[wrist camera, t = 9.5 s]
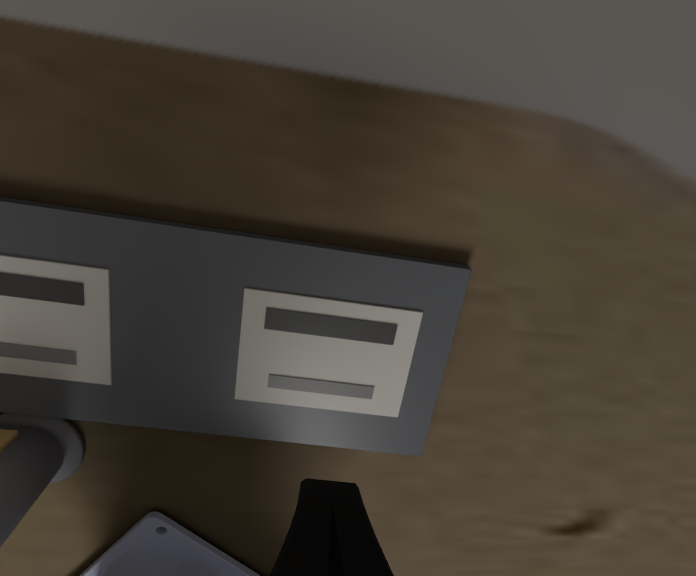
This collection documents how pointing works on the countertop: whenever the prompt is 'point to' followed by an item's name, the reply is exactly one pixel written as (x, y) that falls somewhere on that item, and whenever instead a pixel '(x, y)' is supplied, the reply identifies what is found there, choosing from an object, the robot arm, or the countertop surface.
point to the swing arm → (24, 472)
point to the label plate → (216, 332)
